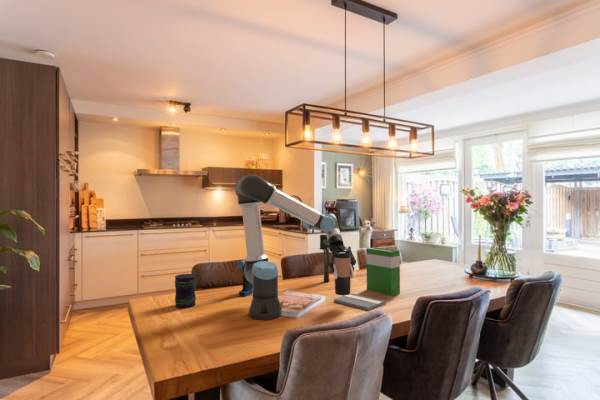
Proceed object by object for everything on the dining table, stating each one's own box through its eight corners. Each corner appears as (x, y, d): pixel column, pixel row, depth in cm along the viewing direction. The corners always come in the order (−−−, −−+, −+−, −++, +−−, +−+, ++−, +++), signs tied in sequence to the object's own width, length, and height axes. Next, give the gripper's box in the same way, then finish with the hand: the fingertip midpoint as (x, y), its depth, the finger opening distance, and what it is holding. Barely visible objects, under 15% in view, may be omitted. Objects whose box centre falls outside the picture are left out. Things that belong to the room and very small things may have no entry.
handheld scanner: (235, 296, 192) (235, 260, 191) (252, 289, 206) (252, 256, 206) (242, 297, 189) (242, 261, 189) (259, 291, 204) (259, 257, 204)
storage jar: (200, 304, 178) (199, 275, 178) (184, 309, 170) (184, 278, 170) (186, 301, 183) (186, 273, 183) (170, 306, 175) (170, 276, 175)
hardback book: (366, 289, 205) (366, 248, 205) (375, 287, 209) (374, 247, 209) (391, 295, 191) (391, 251, 191) (399, 293, 195) (399, 250, 195)
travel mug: (349, 291, 173) (348, 250, 173) (352, 295, 166) (351, 253, 165) (333, 291, 173) (333, 250, 173) (335, 295, 165) (335, 253, 165)
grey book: (368, 310, 165) (368, 306, 165) (334, 301, 180) (333, 298, 180) (385, 303, 176) (385, 300, 176) (351, 296, 191) (351, 292, 191)
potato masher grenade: (322, 283, 220) (321, 235, 220) (318, 280, 228) (317, 234, 228) (335, 282, 222) (334, 235, 222) (330, 279, 230) (329, 234, 230)
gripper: (351, 243, 186) (363, 280, 170) (314, 244, 182) (322, 282, 167) (355, 234, 181) (367, 271, 165) (316, 235, 177) (325, 273, 161)
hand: (344, 277), depth 166 cm, fingers closed on travel mug, 7 cm apart
